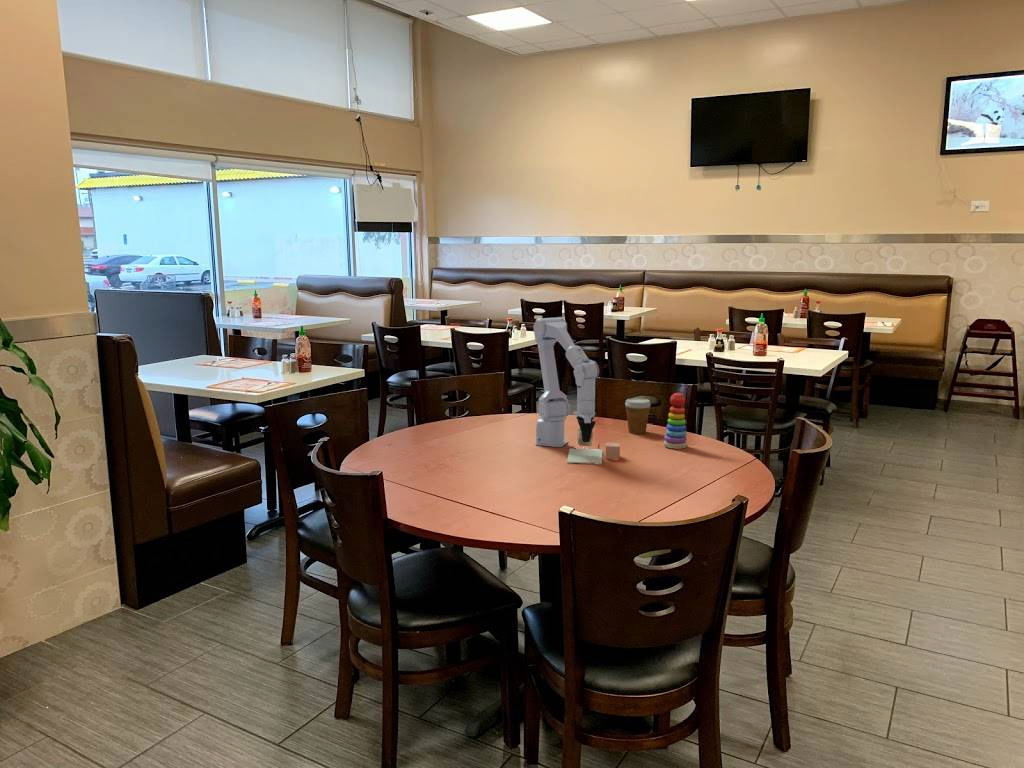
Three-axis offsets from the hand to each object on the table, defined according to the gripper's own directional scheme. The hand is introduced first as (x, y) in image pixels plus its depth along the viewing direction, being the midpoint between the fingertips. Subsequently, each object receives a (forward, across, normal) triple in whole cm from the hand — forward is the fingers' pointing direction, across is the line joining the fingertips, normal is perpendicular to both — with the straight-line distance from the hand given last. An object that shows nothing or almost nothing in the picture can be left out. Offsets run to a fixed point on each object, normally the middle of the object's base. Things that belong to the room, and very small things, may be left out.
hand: (585, 439), depth 248 cm
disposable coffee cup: (+6, -34, +22) cm, 41 cm away
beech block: (+2, 0, 0) cm, 2 cm away
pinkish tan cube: (+6, +1, +9) cm, 11 cm away
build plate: (+6, 0, 0) cm, 6 cm away
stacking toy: (+6, -13, +32) cm, 35 cm away
